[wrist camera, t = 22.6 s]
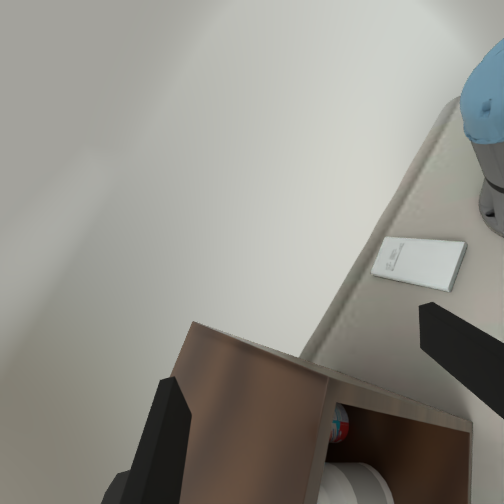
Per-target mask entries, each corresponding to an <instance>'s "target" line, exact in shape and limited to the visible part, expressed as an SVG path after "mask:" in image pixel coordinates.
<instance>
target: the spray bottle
mask: <svg viewBox="0 0 504 504" xmlns="http://www.w3.org/2000/svg"><path fill="white" fill-rule="evenodd" d="M317 504H394V501H393V497H392V494H391V491H390V489H389V487H388V485H387V483H386V481H385V480H384V479H383V477H382V476H381V475H380V473H379V472H378V471H377V470H375V469H374V468H373V467H372V466H370V465H368V464H365V463H325V464H324V469H323V474H322V480H321V485H320V490H319V495H318V500H317Z"/></svg>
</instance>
